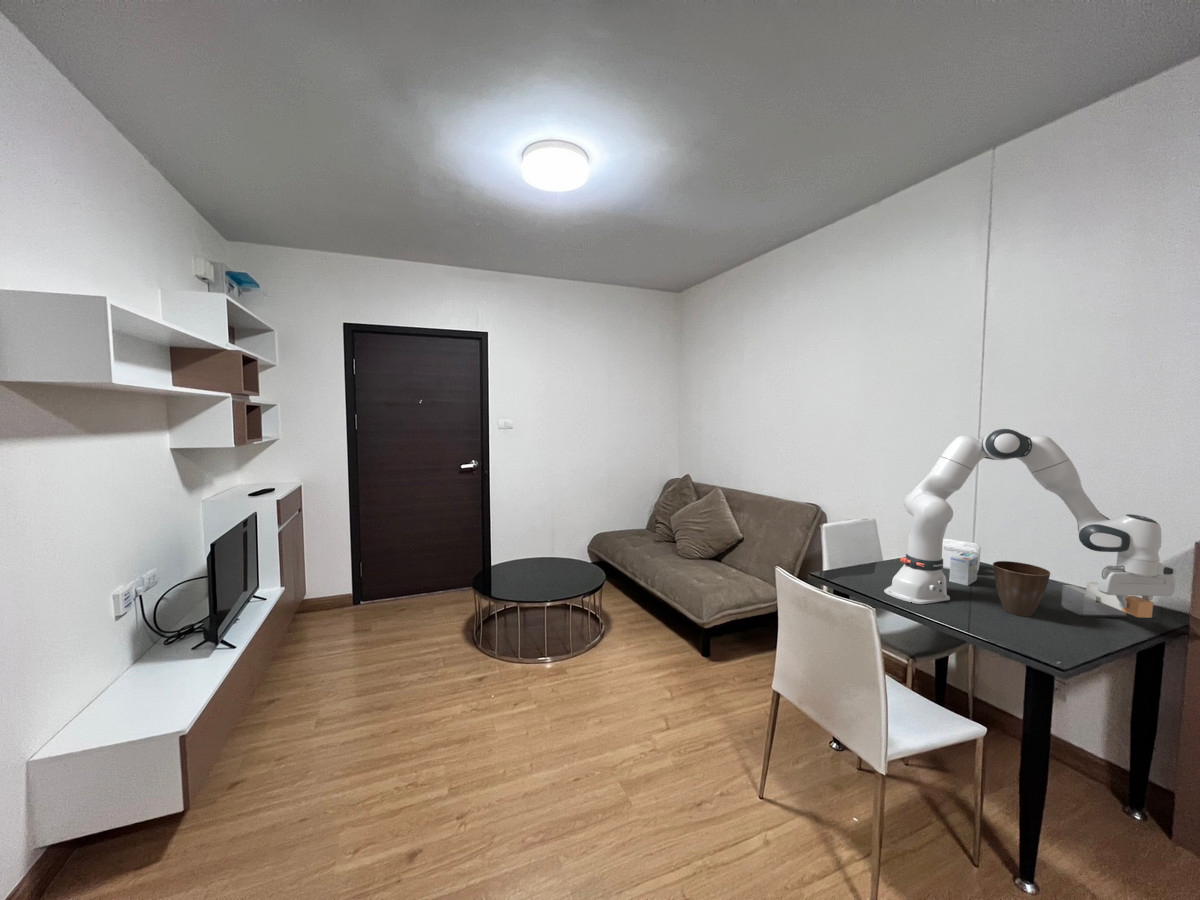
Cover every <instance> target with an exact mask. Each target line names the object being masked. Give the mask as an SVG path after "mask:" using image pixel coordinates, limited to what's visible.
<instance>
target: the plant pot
mask: <svg viewBox="0 0 1200 900" xmlns="http://www.w3.org/2000/svg"><path fill="white" fill-rule="evenodd" d="M992 567H993V568H992V569H993V575H994V581H995V586H996V590H997V593H998V596H999V600H1000V602H1001V605H1002V609H1003V610H1004V611H1005V612H1006V613H1009V614H1012V615H1015V616H1021V617H1032V616H1033V615H1034V613H1035V612H1036V610H1037V608H1038V606H1039V605H1040V603H1041V602H1042V599H1043V597H1044V595H1045V593H1046V589H1047V587H1048V583H1049V580H1050V576H1051V571H1050V570H1048V569H1046V568H1043V567H1040V566H1037V565H1034V564H1028V563H1023V562H1018V561H1010V560H1009V561H1008V560H1007V561H1006V560H999V561H994V562H993V563H992Z"/></svg>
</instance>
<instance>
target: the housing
mask: <svg viewBox="0 0 1200 900" xmlns="http://www.w3.org/2000/svg"><path fill="white" fill-rule="evenodd" d="M1060 606H1061V608H1063V609H1066V610H1067V611H1070V612H1072V613H1074V614H1076V615H1079V616H1081V617H1089V618H1090V617H1091V618H1092V617H1095V618H1096V617H1097V618H1098V617H1099V618H1102V617H1103V618H1106V617H1107V618H1126V617H1127V613H1126V612H1124V611H1121V610H1119V609H1116V608H1114V607H1111V606H1109V605H1106V604H1104V603H1101V602H1099V601H1097V600H1096V594H1095V593H1092V592H1090V591H1087V590H1086V588H1085V589H1084V588H1082V587H1080V586H1077V585H1074V584H1073V585H1072V584H1062V589H1061V603H1060Z"/></svg>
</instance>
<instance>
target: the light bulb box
mask: <svg viewBox="0 0 1200 900" xmlns="http://www.w3.org/2000/svg"><path fill="white" fill-rule="evenodd" d="M977 567H978V555H973V554H968V553H963V552H959V553H957V554H955V555H953V556H951V559H950V570H949V579H948V580H949V582H951V583H955V584H958V585H962V586H969V585H970V586H971V584H973V583H974V582H976V581H977V579H978V572H977Z"/></svg>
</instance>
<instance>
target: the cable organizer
mask: <svg viewBox="0 0 1200 900" xmlns="http://www.w3.org/2000/svg"><path fill="white" fill-rule="evenodd" d="M981 549H982V547H981V545H980V544H978V543H976V542H969V541H963V540H958V539H950V538H943V548H942V559H943V568H942V569H946V570H949V571H950V559H951V556H953V555H955V554H957V553H959V552H963V553H968V554H973V555H978V567H977V573H978V572H979V570H980V565H981Z"/></svg>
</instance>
